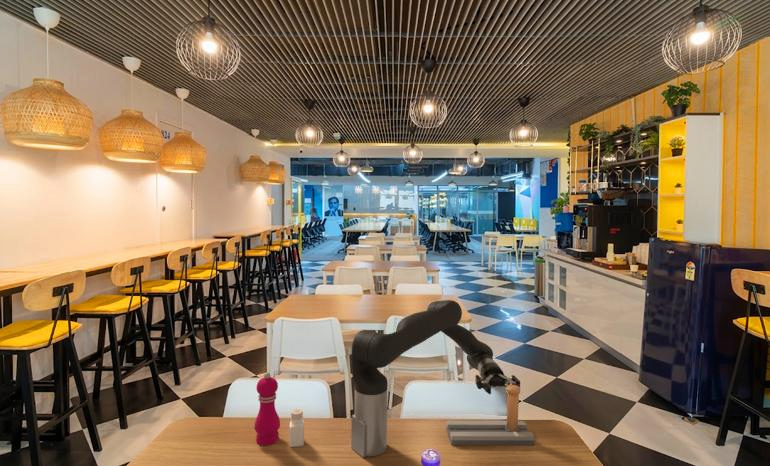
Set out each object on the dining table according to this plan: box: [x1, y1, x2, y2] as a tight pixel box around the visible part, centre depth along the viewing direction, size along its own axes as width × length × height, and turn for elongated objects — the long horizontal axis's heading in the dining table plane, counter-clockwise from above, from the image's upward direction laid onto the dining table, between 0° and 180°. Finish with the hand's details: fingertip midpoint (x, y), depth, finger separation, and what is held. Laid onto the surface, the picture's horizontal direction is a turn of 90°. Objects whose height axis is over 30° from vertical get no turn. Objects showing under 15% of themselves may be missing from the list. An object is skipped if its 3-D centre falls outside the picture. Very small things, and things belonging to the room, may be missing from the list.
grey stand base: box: [446, 420, 536, 446], centre depth 128 cm, size 24×9×3 cm, turn 91°
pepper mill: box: [254, 372, 281, 446], centre depth 125 cm, size 7×7×20 cm
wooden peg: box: [504, 384, 521, 432], centre depth 128 cm, size 4×4×14 cm
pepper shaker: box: [289, 408, 305, 448], centre depth 123 cm, size 4×4×10 cm
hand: (503, 391), depth 139 cm, fingers open, 8 cm apart
